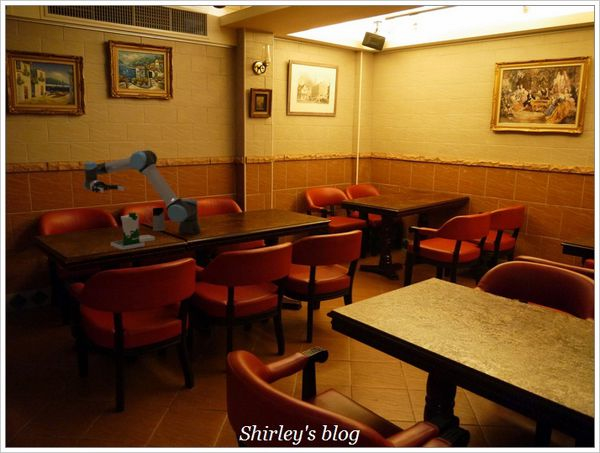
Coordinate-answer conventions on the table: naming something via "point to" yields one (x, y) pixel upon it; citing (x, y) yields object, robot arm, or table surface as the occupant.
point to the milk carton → (130, 229)
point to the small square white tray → (146, 238)
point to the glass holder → (158, 219)
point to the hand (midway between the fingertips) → (113, 189)
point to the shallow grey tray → (120, 245)
